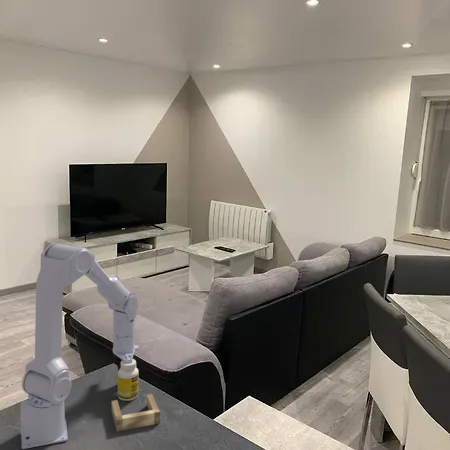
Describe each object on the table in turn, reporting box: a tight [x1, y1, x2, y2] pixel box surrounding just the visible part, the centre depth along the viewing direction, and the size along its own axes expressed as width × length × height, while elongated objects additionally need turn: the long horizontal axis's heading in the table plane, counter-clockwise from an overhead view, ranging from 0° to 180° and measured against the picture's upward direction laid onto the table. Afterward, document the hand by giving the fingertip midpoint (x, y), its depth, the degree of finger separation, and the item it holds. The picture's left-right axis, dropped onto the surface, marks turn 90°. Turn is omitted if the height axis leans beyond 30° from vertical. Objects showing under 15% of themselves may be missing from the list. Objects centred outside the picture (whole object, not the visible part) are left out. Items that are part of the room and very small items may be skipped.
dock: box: [111, 393, 161, 432], centre depth 112 cm, size 10×8×3 cm
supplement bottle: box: [117, 359, 140, 402], centre depth 120 cm, size 5×5×10 cm
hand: (123, 378), depth 127 cm, fingers closed
